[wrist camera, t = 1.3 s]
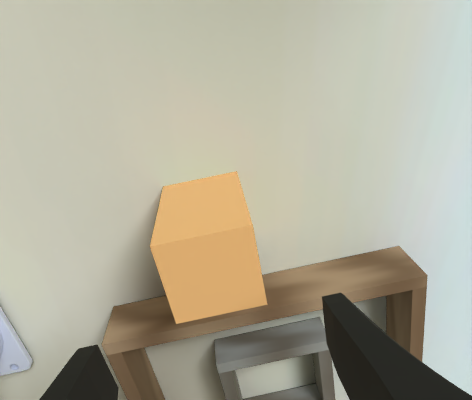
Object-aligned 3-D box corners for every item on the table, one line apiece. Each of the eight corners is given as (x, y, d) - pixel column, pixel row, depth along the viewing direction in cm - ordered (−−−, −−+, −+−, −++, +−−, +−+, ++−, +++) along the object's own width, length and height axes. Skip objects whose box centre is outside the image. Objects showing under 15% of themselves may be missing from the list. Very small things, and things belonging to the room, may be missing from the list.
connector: (181, 248, 21) (176, 324, 15) (163, 186, 19) (149, 246, 14) (248, 234, 21) (267, 304, 15) (236, 171, 19) (252, 224, 14)
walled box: (178, 457, 29) (176, 501, 26) (113, 306, 22) (101, 345, 19) (395, 410, 29) (416, 448, 26) (399, 245, 22) (427, 275, 19)
